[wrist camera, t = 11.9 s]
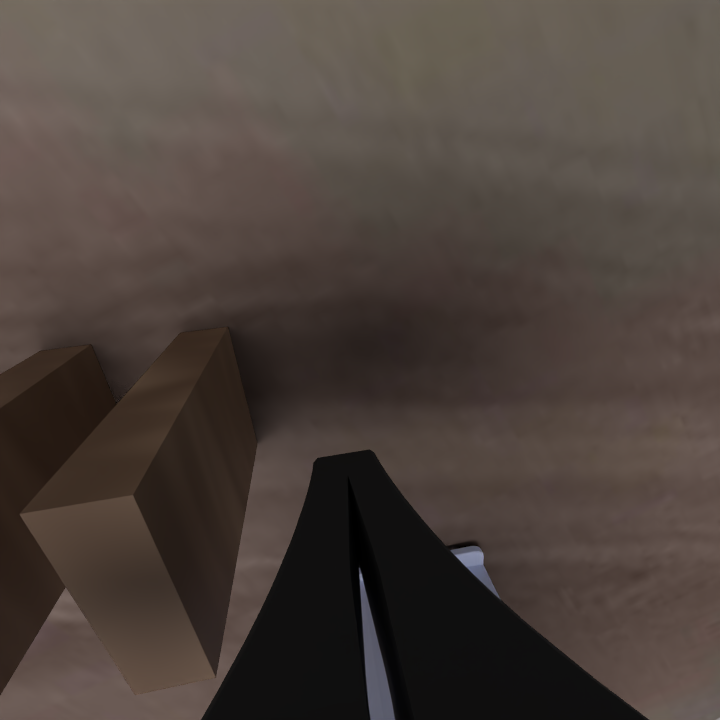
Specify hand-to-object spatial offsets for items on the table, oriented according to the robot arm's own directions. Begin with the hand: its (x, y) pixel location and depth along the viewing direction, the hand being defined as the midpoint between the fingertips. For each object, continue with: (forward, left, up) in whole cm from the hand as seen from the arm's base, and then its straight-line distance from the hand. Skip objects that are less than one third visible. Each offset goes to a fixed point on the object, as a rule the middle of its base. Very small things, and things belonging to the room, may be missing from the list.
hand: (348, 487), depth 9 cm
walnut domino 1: (+4, 0, -6) cm, 7 cm away
